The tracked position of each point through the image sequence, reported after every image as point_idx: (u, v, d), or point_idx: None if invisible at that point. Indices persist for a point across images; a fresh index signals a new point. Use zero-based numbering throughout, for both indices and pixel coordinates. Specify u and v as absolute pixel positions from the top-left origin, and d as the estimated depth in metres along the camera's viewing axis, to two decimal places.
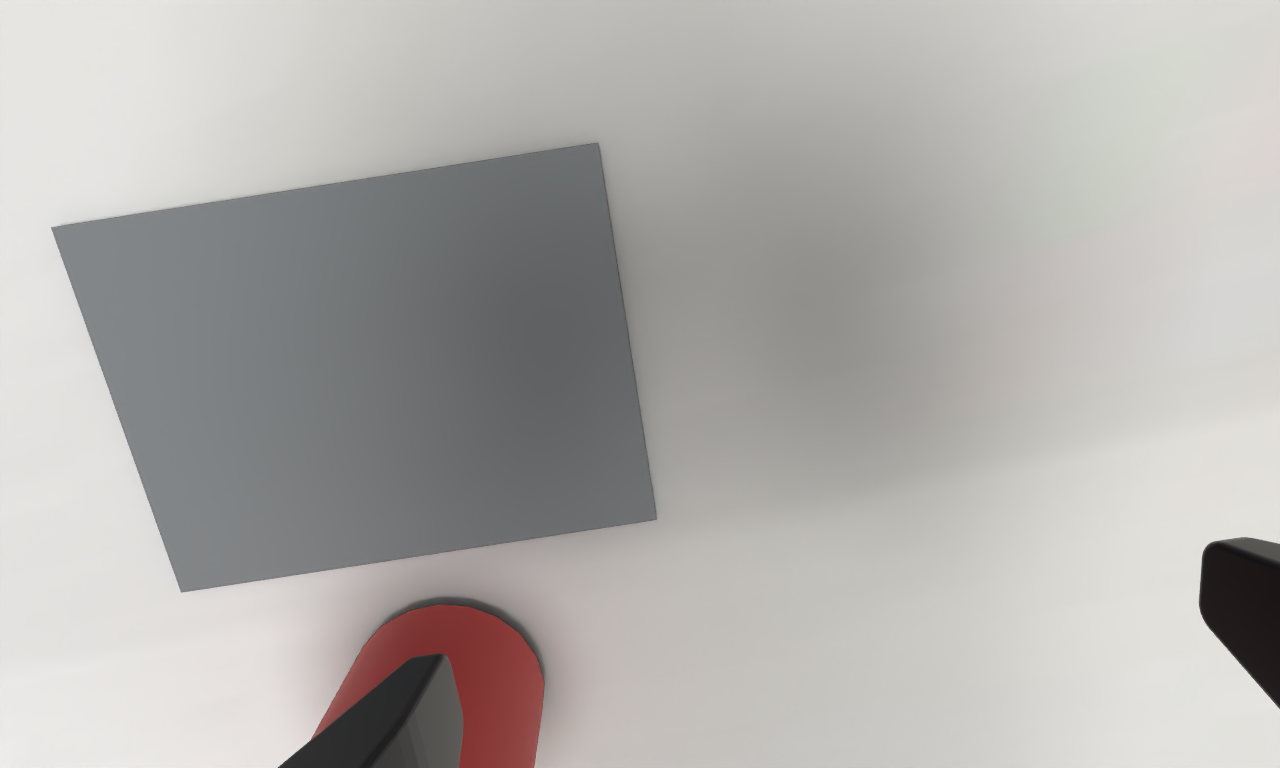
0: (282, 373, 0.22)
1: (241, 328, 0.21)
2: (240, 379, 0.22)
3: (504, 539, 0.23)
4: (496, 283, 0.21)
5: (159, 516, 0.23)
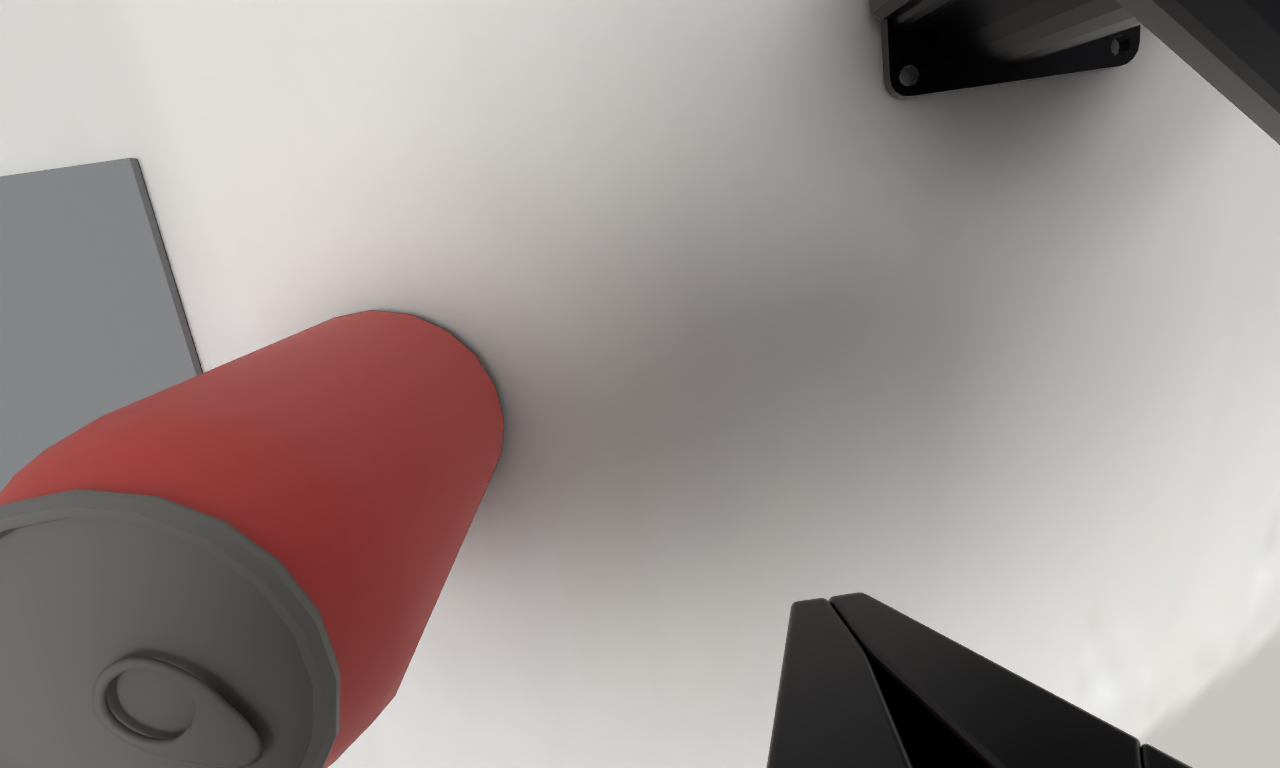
0: None
1: None
2: None
3: (182, 349, 0.20)
4: None
5: None
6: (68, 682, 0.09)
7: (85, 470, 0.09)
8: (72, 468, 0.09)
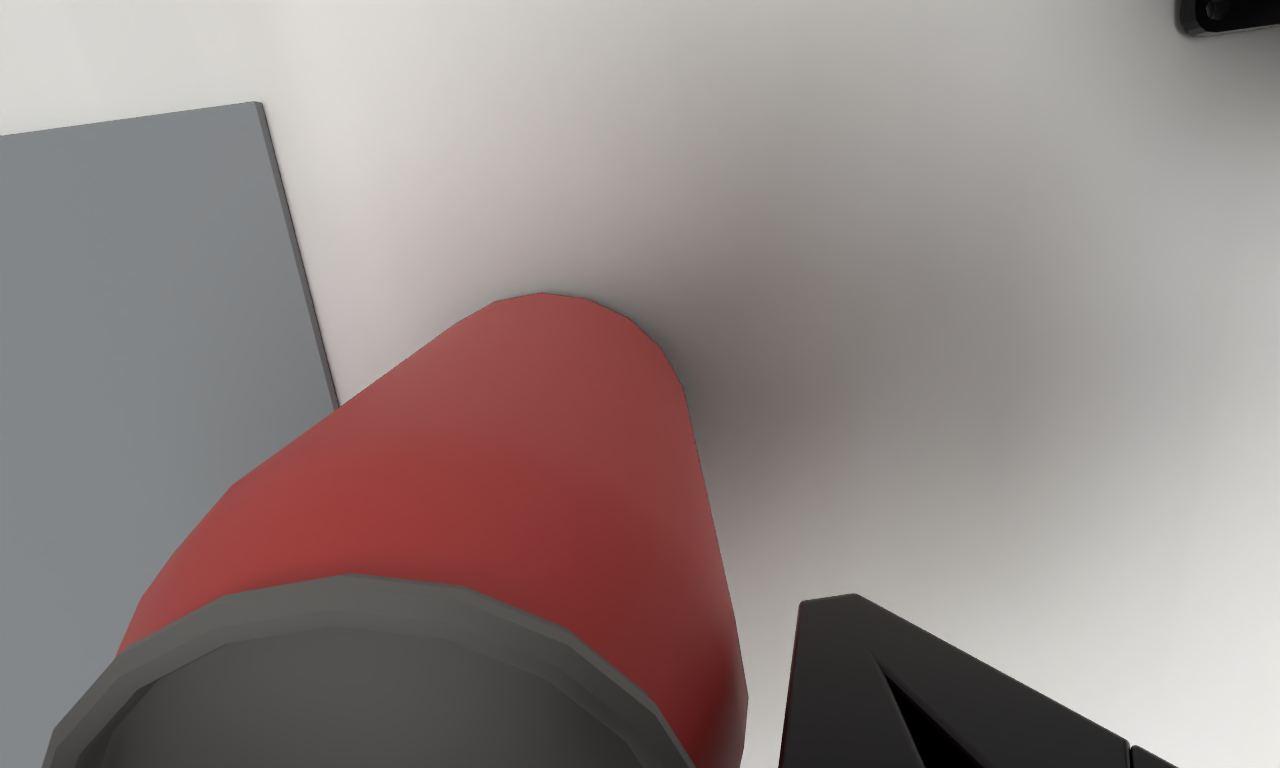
0: (103, 592, 0.18)
1: (52, 629, 0.18)
2: (119, 637, 0.18)
3: (308, 337, 0.16)
4: None
5: None
6: None
7: (332, 534, 0.06)
8: (308, 529, 0.06)
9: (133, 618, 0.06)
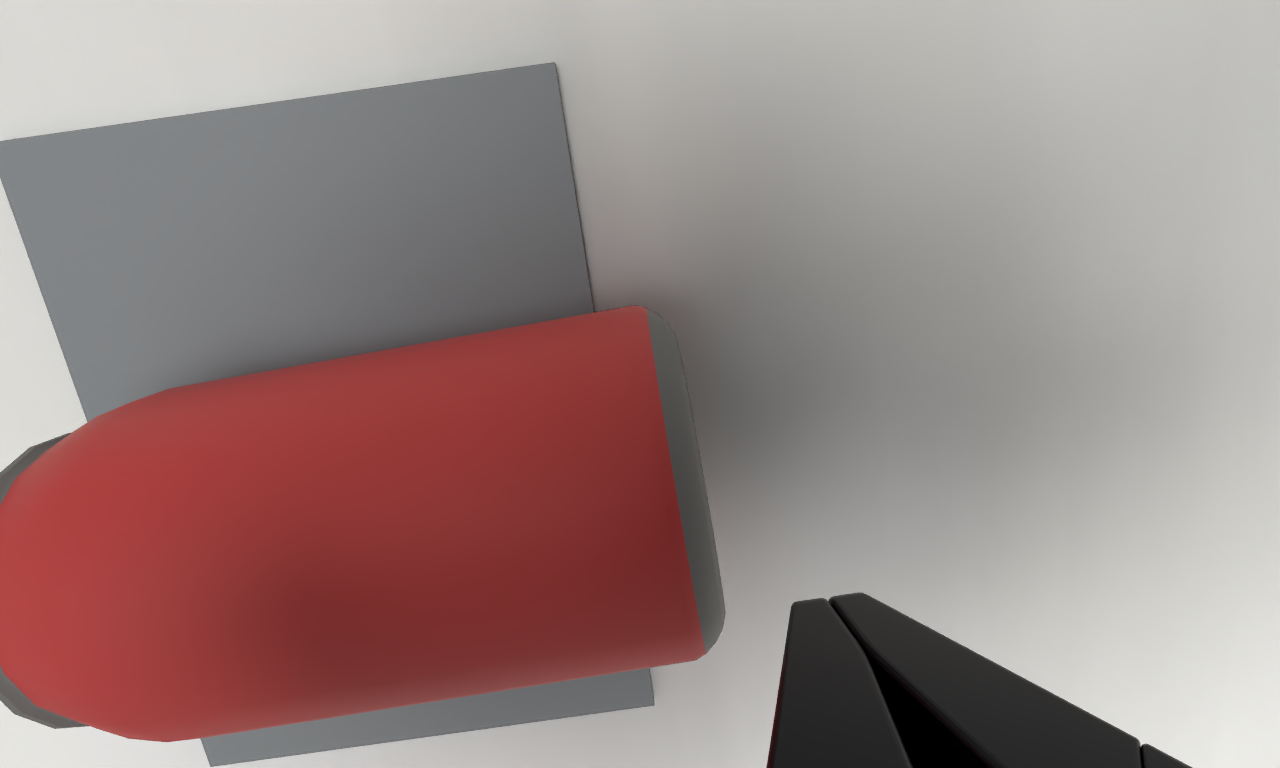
0: None
1: None
2: None
3: (585, 303, 0.16)
4: (205, 292, 0.16)
5: (550, 714, 0.19)
6: None
7: None
8: None
9: None
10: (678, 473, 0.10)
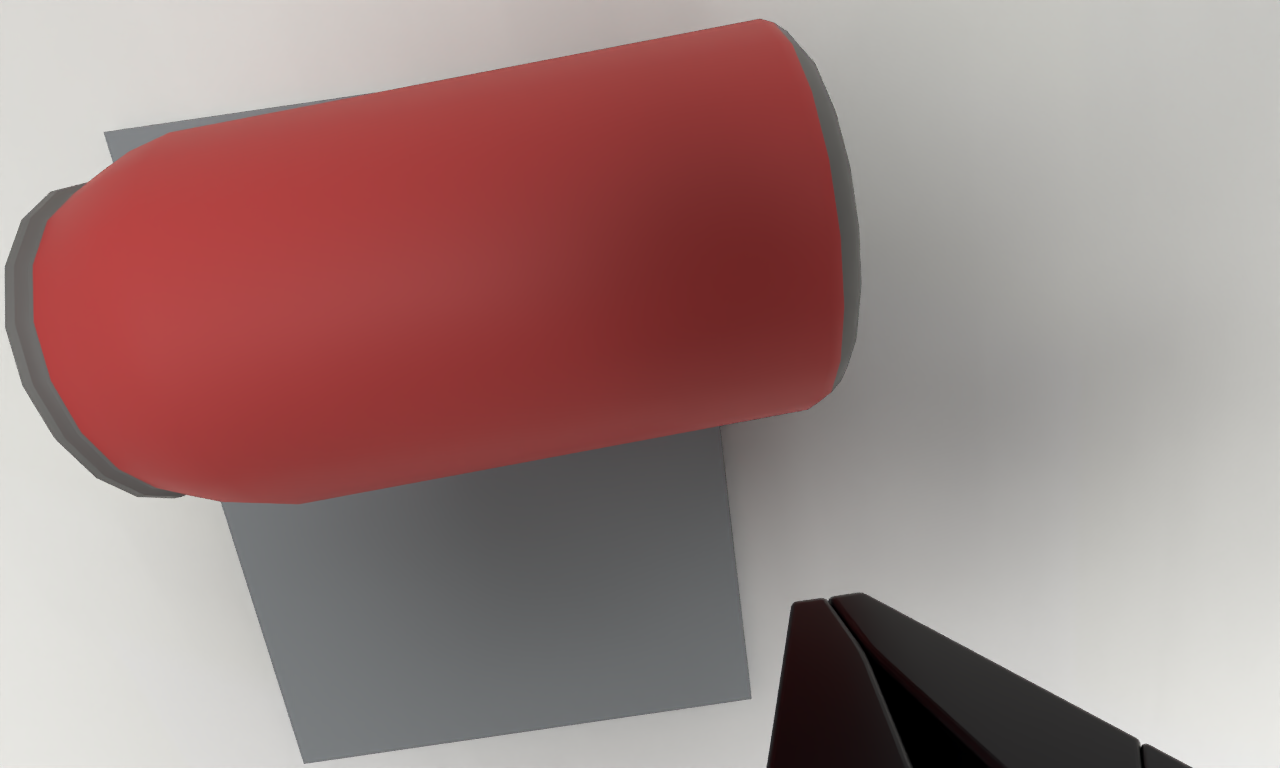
0: (458, 556, 0.17)
1: (403, 594, 0.18)
2: (468, 603, 0.18)
3: None
4: None
5: (647, 708, 0.19)
6: None
7: None
8: None
9: None
10: None
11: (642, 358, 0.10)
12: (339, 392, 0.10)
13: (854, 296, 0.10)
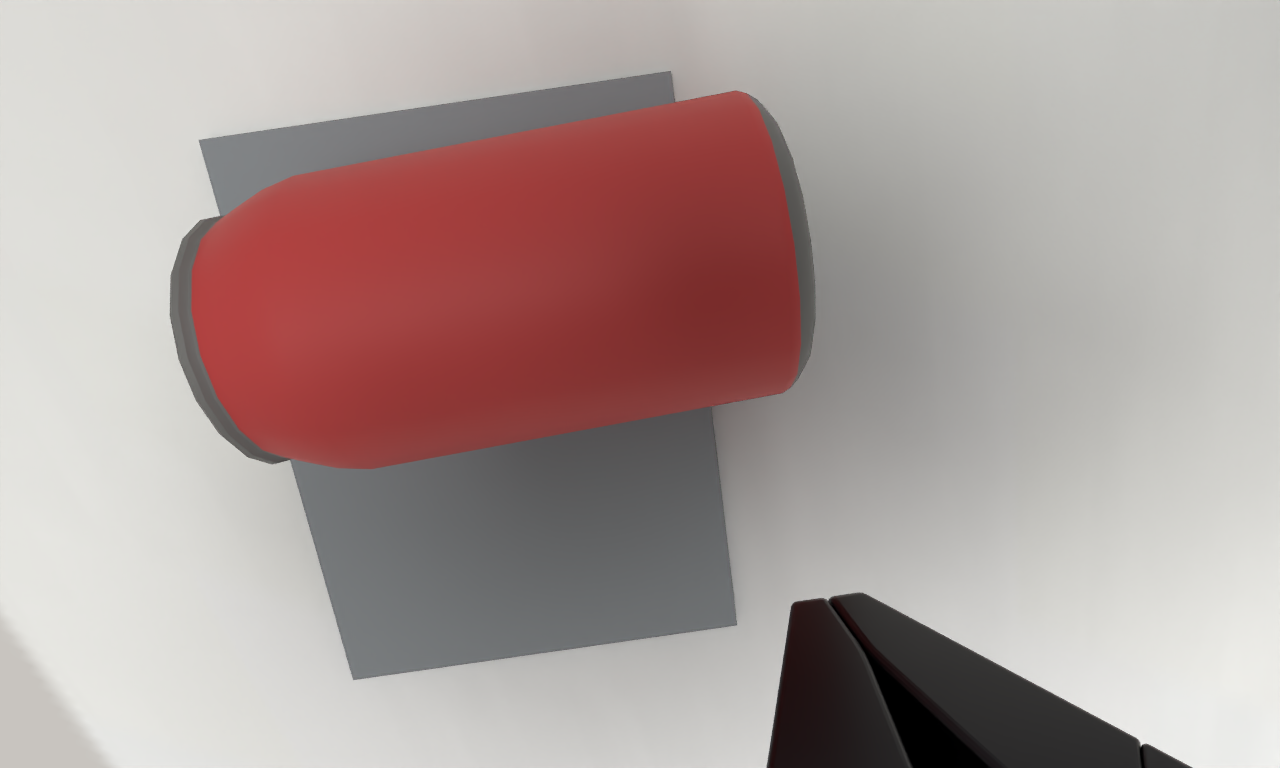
0: (487, 499, 0.21)
1: (440, 532, 0.21)
2: (495, 539, 0.21)
3: None
4: None
5: (647, 633, 0.22)
6: None
7: None
8: None
9: None
10: None
11: (654, 379, 0.14)
12: (434, 407, 0.13)
13: (808, 334, 0.14)
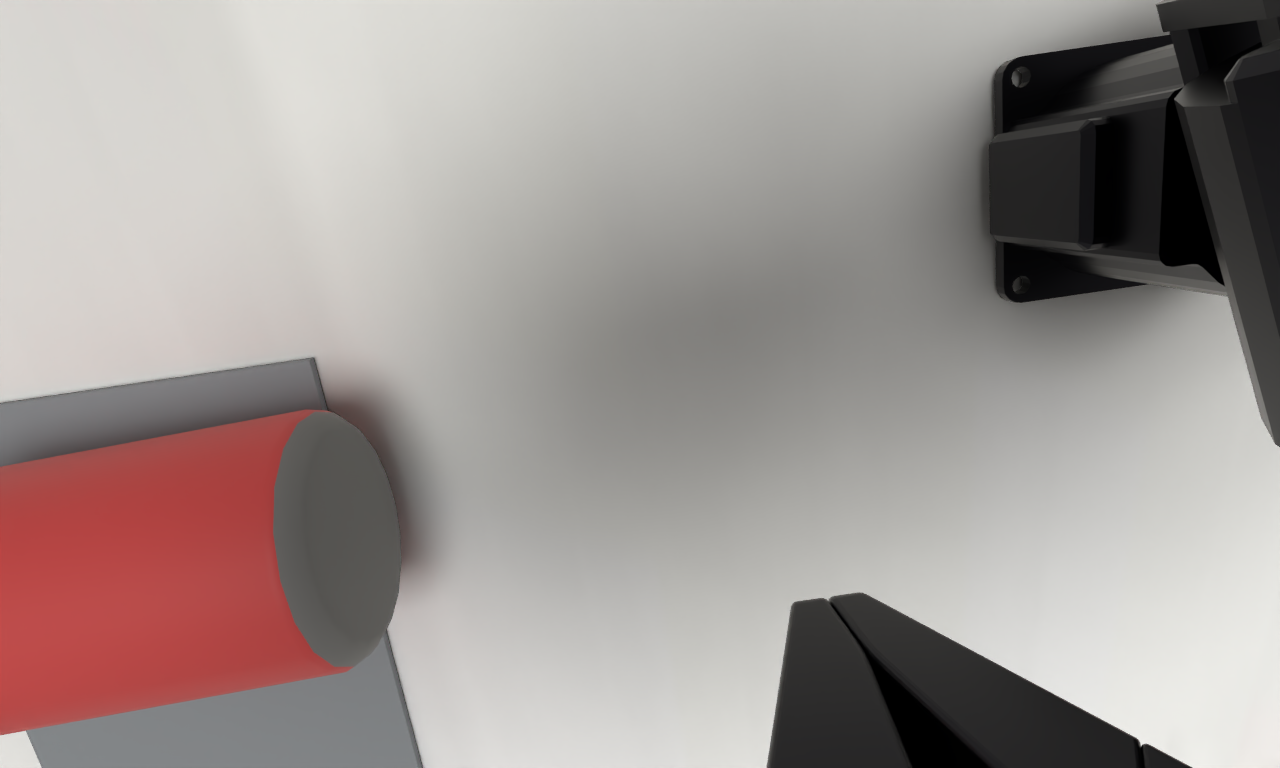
0: (187, 710, 0.23)
1: (148, 737, 0.23)
2: (199, 743, 0.23)
3: None
4: None
5: None
6: None
7: None
8: None
9: None
10: (313, 417, 0.17)
11: (189, 682, 0.16)
12: None
13: (323, 642, 0.16)
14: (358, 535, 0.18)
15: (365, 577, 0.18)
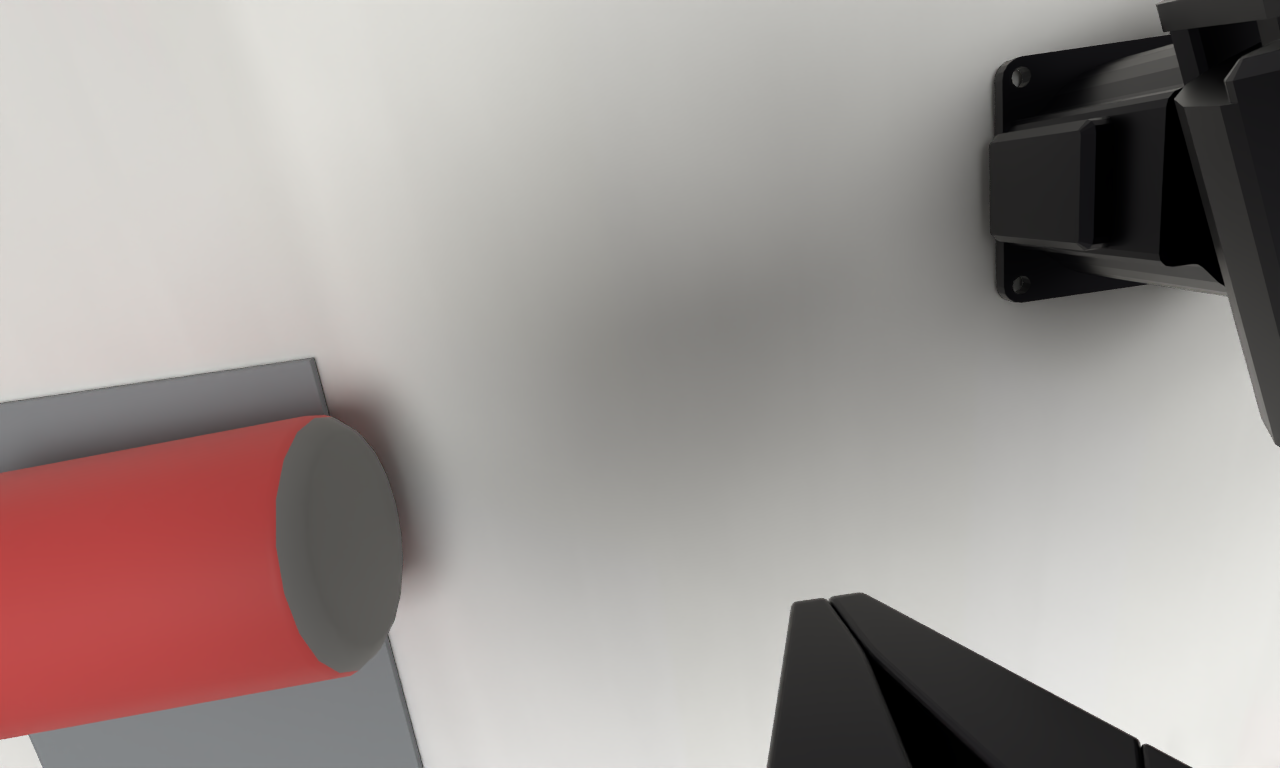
0: (188, 709, 0.23)
1: (148, 737, 0.23)
2: (199, 743, 0.23)
3: None
4: None
5: None
6: None
7: None
8: None
9: None
10: (312, 424, 0.17)
11: (195, 689, 0.16)
12: (1, 717, 0.16)
13: (328, 651, 0.16)
14: (359, 541, 0.18)
15: (368, 581, 0.18)
